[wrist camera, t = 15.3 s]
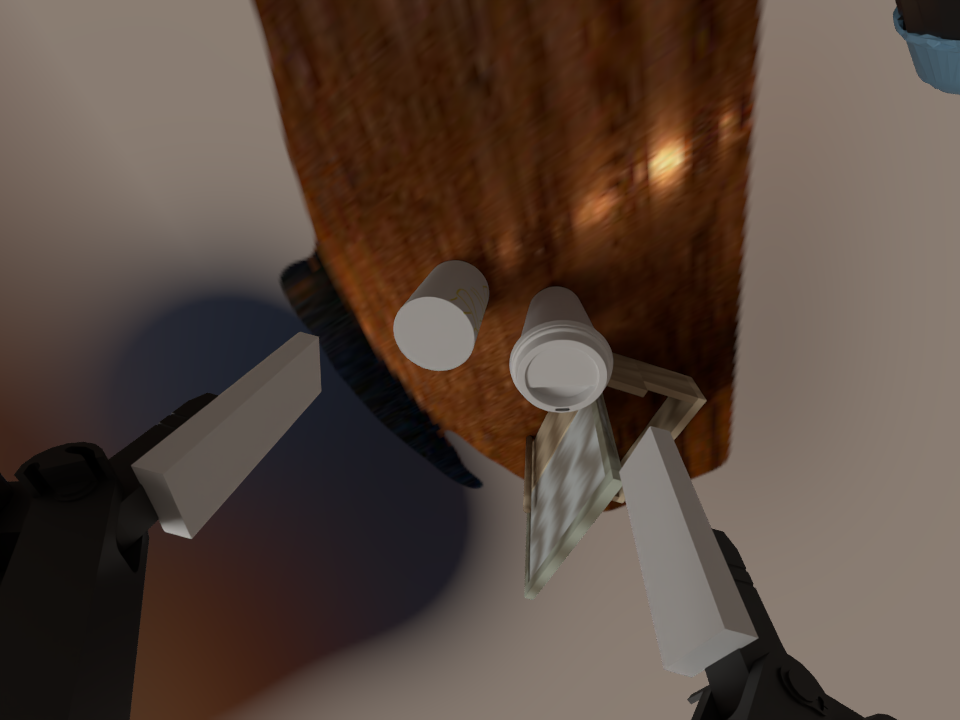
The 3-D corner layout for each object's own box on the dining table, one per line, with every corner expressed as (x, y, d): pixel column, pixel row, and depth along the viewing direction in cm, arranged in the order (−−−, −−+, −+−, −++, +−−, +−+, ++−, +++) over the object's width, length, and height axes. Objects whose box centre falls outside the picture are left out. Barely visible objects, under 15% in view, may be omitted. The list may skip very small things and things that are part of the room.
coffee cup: (507, 333, 47) (496, 403, 34) (529, 264, 42) (526, 317, 29) (576, 352, 47) (590, 430, 34) (607, 286, 42) (637, 348, 29)
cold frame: (573, 340, 46) (597, 473, 27) (691, 377, 46) (793, 533, 28) (521, 447, 57) (513, 594, 39) (616, 476, 58) (653, 635, 39)
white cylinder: (488, 323, 47) (473, 374, 36) (427, 318, 47) (397, 366, 37) (490, 262, 42) (475, 300, 32) (424, 258, 43) (389, 293, 33)
